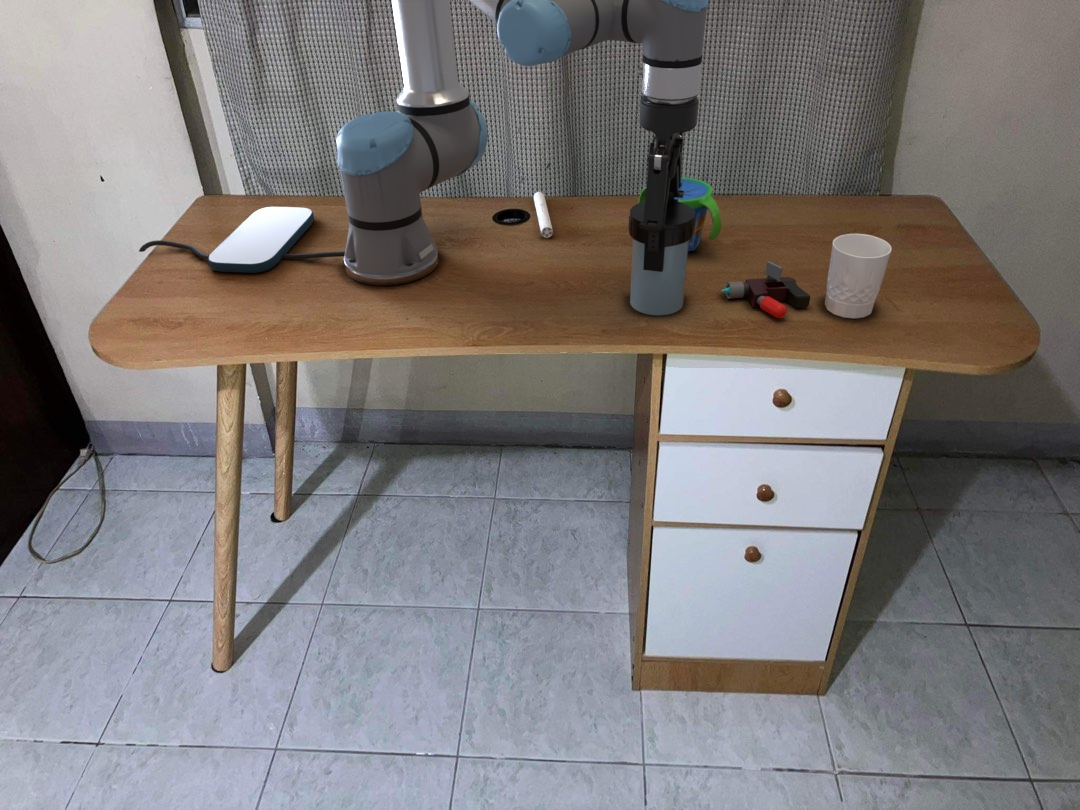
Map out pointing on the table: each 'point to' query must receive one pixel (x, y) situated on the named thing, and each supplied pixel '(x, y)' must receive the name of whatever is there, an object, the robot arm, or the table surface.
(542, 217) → the marker
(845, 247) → the white cup
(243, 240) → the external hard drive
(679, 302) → the jar
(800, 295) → the toy gun
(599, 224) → the table surface
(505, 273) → the table surface
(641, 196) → the snack cup
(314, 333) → the table surface
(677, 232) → the lid
